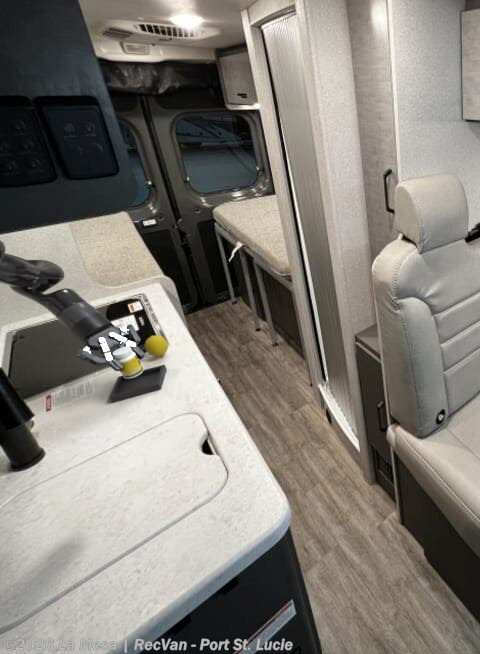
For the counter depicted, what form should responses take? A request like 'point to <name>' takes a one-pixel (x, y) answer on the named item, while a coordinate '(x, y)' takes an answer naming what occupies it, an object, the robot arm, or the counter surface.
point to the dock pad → (138, 384)
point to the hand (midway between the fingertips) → (132, 363)
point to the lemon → (156, 345)
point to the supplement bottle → (128, 362)
